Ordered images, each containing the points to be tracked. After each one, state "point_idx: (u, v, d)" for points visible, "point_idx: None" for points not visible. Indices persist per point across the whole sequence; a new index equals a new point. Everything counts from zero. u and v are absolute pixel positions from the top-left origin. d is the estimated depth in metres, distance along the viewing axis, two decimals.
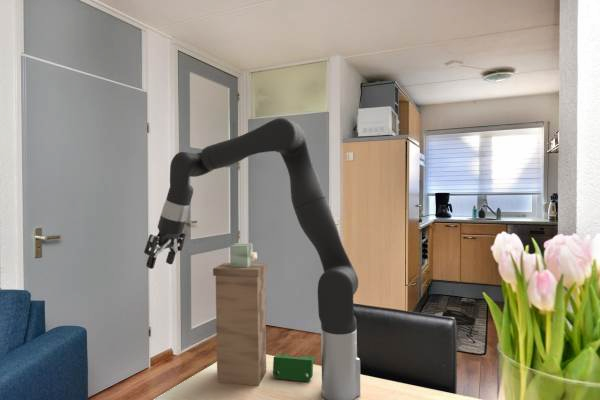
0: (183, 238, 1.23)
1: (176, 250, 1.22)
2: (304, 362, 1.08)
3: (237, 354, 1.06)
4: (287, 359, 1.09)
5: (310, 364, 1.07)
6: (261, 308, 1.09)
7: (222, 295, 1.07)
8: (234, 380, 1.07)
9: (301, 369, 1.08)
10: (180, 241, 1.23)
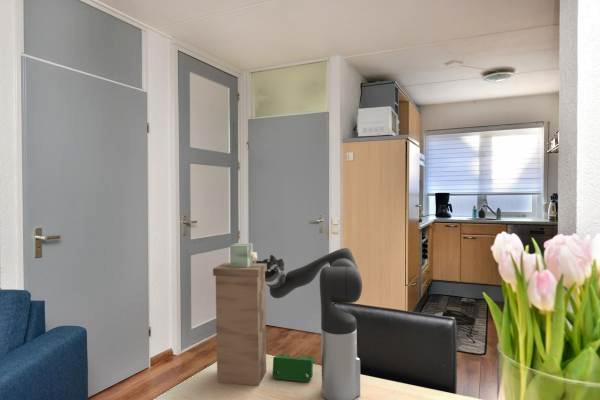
0: None
1: None
2: (304, 362, 1.08)
3: (237, 354, 1.06)
4: (287, 359, 1.09)
5: (310, 364, 1.07)
6: (261, 308, 1.09)
7: (222, 295, 1.07)
8: (234, 380, 1.07)
9: (301, 369, 1.07)
10: None
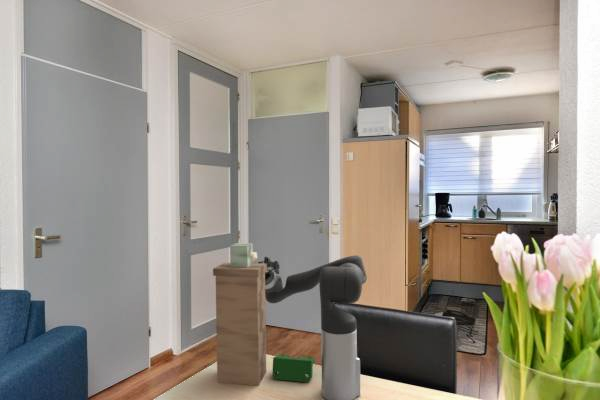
0: None
1: None
2: (304, 363, 1.08)
3: (237, 354, 1.06)
4: (287, 360, 1.09)
5: (310, 365, 1.07)
6: (261, 308, 1.09)
7: (222, 295, 1.07)
8: (234, 380, 1.07)
9: (301, 370, 1.07)
10: None
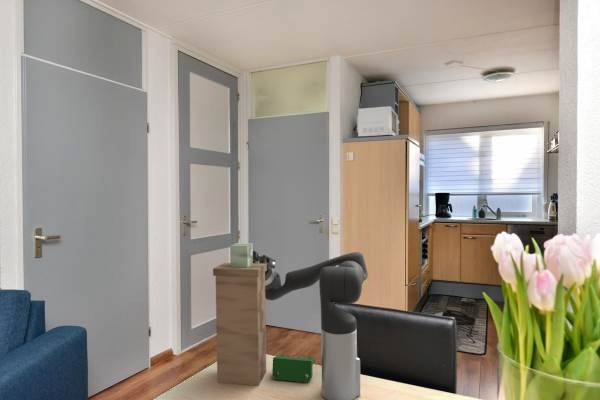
0: None
1: None
2: (304, 363, 1.07)
3: (237, 354, 1.06)
4: (286, 360, 1.09)
5: (310, 365, 1.07)
6: (261, 308, 1.09)
7: (222, 295, 1.07)
8: (234, 380, 1.07)
9: (301, 370, 1.07)
10: None
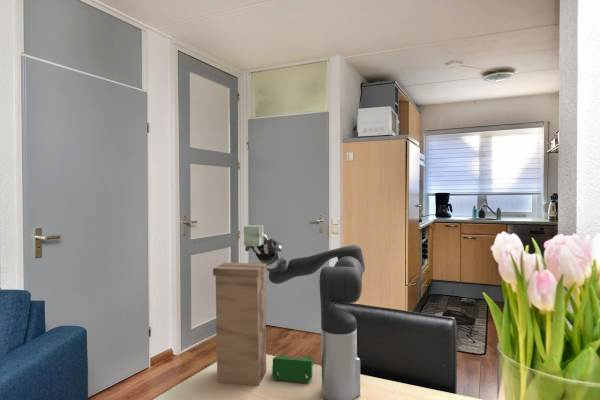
0: None
1: None
2: (304, 363, 1.07)
3: (237, 354, 1.06)
4: (286, 360, 1.08)
5: (310, 365, 1.07)
6: (261, 308, 1.09)
7: (222, 295, 1.07)
8: (234, 380, 1.07)
9: (300, 370, 1.07)
10: None
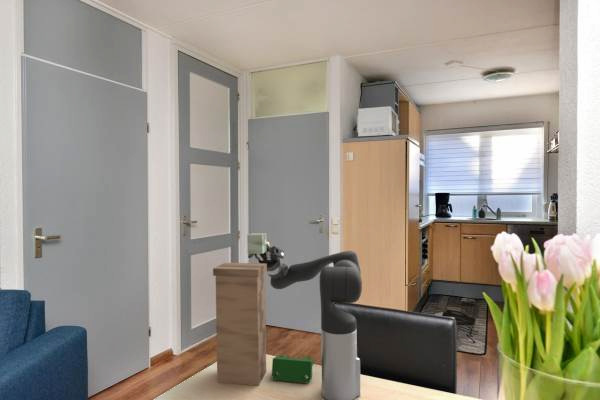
0: None
1: None
2: (303, 363, 1.07)
3: (237, 354, 1.06)
4: (286, 360, 1.08)
5: (309, 365, 1.07)
6: (261, 308, 1.09)
7: (222, 295, 1.07)
8: (234, 380, 1.07)
9: (300, 371, 1.07)
10: None
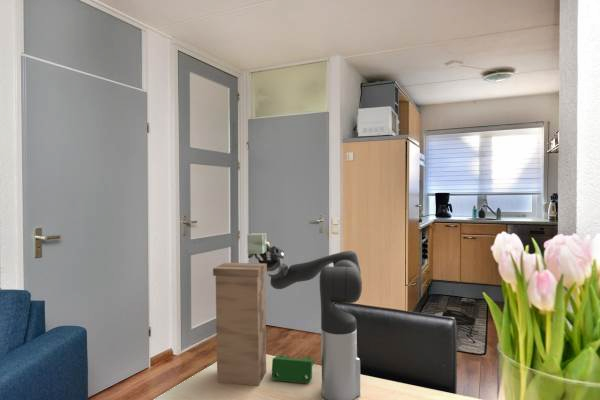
0: None
1: None
2: (303, 364, 1.07)
3: (237, 354, 1.06)
4: (286, 361, 1.08)
5: (309, 366, 1.06)
6: (261, 308, 1.09)
7: (222, 295, 1.07)
8: (234, 380, 1.07)
9: (300, 371, 1.07)
10: None
